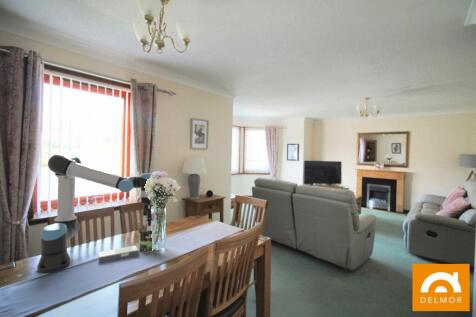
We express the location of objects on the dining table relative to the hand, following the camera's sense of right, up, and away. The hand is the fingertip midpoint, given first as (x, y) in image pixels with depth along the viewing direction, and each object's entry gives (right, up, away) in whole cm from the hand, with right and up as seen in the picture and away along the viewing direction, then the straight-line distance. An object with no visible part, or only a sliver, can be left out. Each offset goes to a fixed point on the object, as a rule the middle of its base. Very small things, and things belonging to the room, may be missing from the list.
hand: (147, 227), depth 161 cm
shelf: (-15, -15, -8) cm, 23 cm away
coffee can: (-1, -16, 0) cm, 16 cm away
